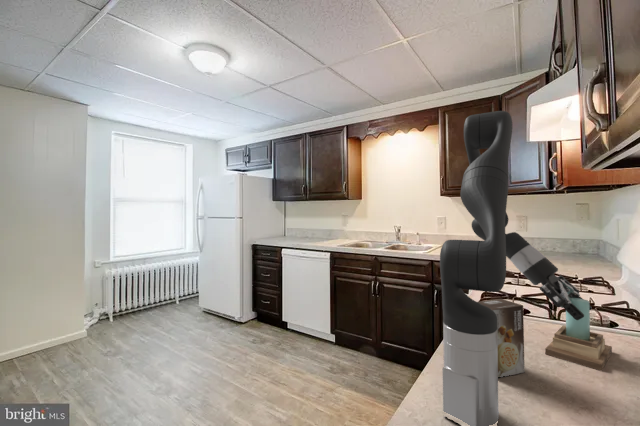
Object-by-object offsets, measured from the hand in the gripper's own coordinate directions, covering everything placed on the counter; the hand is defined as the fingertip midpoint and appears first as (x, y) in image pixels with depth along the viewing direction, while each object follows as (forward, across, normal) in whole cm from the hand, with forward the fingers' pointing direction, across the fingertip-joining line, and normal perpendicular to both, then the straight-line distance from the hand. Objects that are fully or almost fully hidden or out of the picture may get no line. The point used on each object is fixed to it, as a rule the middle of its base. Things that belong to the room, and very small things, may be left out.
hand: (585, 314), depth 79 cm
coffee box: (-1, -24, +16) cm, 29 cm away
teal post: (+4, 0, +6) cm, 7 cm away
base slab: (+7, 0, +8) cm, 11 cm away
